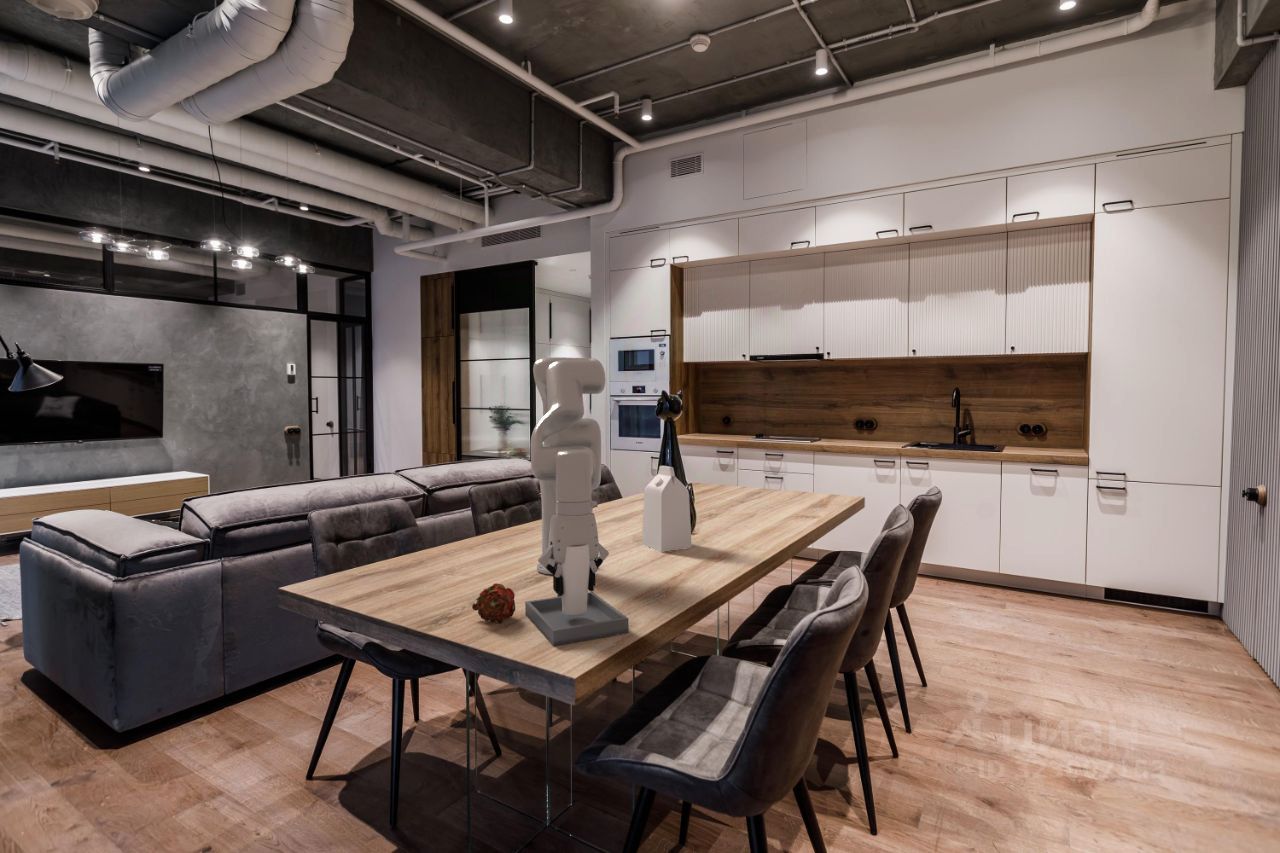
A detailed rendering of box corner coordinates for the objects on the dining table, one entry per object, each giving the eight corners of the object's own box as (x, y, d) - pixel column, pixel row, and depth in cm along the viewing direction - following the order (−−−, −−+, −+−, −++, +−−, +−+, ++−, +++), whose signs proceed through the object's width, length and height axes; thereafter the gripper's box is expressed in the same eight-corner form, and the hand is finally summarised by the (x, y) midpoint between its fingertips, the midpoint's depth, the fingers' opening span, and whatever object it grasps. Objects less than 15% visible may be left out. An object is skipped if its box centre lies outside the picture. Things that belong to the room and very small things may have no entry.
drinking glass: (585, 619, 133) (584, 547, 132) (554, 617, 134) (553, 546, 133) (594, 608, 139) (593, 540, 138) (564, 606, 141) (563, 539, 140)
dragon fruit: (501, 637, 133) (486, 628, 143) (531, 607, 136) (514, 600, 147) (475, 608, 131) (462, 600, 142) (506, 578, 135) (491, 573, 145)
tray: (592, 604, 149) (592, 591, 149) (628, 632, 131) (628, 618, 131) (525, 614, 142) (525, 601, 142) (553, 646, 124) (553, 630, 124)
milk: (691, 548, 205) (691, 467, 204) (661, 552, 199) (661, 469, 198) (671, 541, 215) (671, 464, 214) (641, 545, 210) (641, 466, 208)
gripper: (604, 502, 143) (605, 582, 144) (529, 508, 135) (530, 592, 136) (618, 507, 136) (618, 591, 137) (539, 514, 128) (540, 602, 129)
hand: (574, 591), depth 136 cm, fingers closed on drinking glass, 6 cm apart
